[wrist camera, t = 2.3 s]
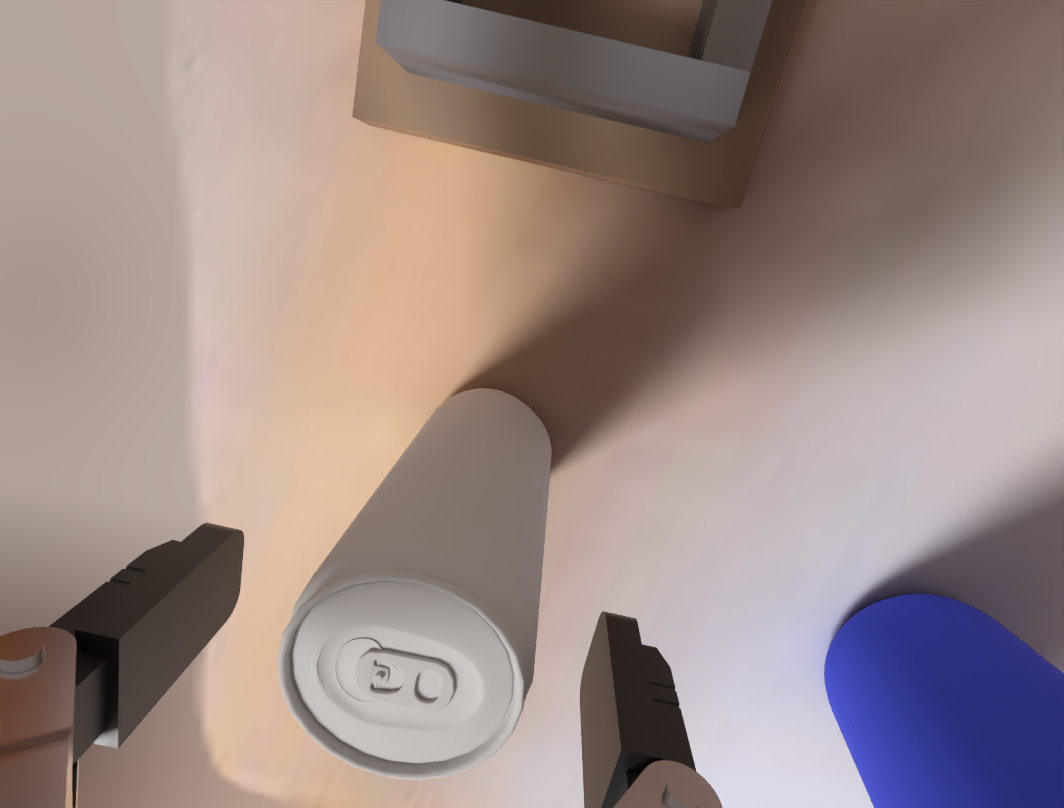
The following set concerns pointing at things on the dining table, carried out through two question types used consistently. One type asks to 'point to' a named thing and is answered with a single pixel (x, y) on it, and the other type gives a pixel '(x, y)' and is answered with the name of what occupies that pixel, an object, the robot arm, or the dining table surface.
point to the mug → (946, 707)
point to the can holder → (585, 84)
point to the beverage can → (429, 600)
